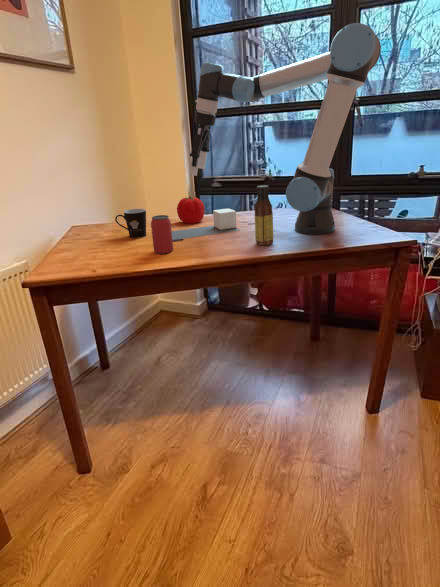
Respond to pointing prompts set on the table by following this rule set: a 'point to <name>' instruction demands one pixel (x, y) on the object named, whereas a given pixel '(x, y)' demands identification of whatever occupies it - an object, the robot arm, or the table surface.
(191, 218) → the tomato
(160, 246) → the beer can
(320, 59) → the robot arm
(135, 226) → the coffee mug
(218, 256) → the table surface
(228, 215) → the cream block
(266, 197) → the sauce bottle
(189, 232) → the rubber mat
